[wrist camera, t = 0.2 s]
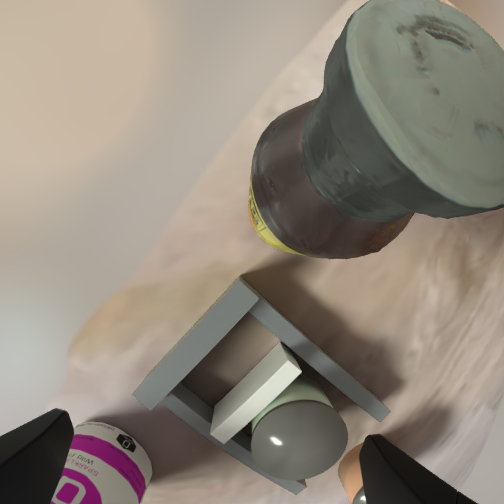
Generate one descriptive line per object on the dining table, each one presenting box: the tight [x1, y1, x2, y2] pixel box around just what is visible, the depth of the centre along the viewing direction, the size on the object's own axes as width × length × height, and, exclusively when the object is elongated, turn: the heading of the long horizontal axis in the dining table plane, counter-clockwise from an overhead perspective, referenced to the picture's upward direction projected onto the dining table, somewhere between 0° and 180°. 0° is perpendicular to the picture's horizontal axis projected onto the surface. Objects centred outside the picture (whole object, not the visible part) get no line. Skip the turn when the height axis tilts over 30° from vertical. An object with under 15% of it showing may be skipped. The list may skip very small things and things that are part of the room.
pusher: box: [210, 342, 302, 444], centre depth 21 cm, size 7×1×4 cm, turn 137°
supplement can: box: [50, 422, 152, 504], centre depth 15 cm, size 8×8×15 cm
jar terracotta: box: [338, 440, 396, 504], centre depth 21 cm, size 6×6×6 cm
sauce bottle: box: [248, 0, 504, 259], centre depth 13 cm, size 6×6×20 cm
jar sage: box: [251, 374, 348, 480], centre depth 20 cm, size 6×6×6 cm
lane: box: [132, 276, 391, 495], centre depth 21 cm, size 10×16×4 cm
